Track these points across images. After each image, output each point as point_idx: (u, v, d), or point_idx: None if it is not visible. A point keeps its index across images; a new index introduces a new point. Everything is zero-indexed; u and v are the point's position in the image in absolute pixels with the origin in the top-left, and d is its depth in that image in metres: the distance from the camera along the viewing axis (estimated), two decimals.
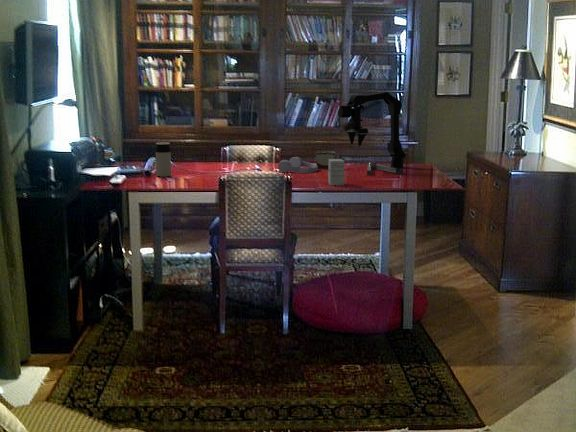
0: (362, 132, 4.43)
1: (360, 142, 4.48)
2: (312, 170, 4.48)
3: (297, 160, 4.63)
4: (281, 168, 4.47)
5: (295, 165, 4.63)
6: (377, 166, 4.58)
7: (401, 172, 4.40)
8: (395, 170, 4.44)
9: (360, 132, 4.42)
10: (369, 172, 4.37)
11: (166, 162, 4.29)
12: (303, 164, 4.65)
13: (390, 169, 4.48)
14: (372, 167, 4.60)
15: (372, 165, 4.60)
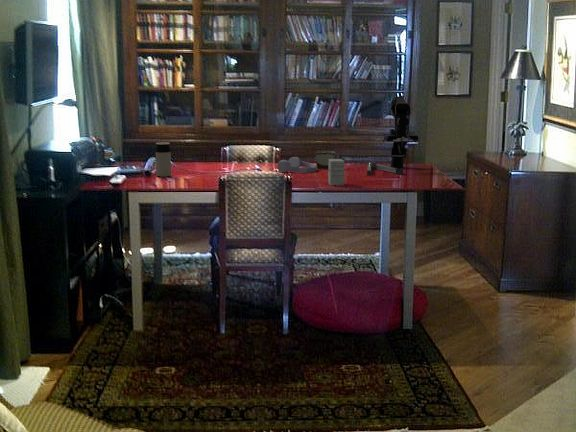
0: (384, 139, 4.47)
1: (399, 149, 4.49)
2: (311, 170, 4.48)
3: (296, 160, 4.63)
4: (280, 168, 4.48)
5: (294, 165, 4.64)
6: (377, 166, 4.58)
7: (401, 172, 4.40)
8: (395, 170, 4.44)
9: (384, 139, 4.48)
10: (369, 172, 4.37)
11: (166, 162, 4.29)
12: (302, 164, 4.65)
13: (390, 169, 4.48)
14: (372, 167, 4.60)
15: (372, 165, 4.60)
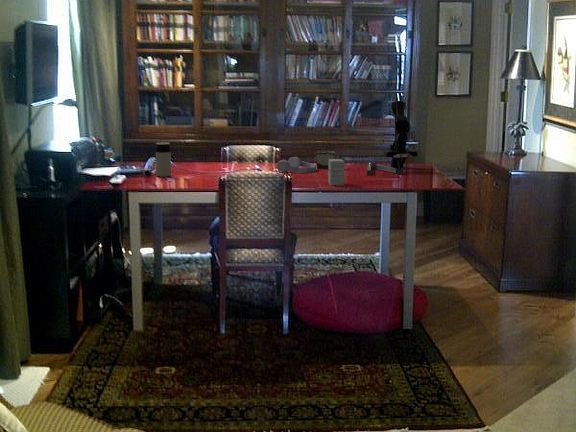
0: (384, 155, 4.49)
1: (398, 165, 4.51)
2: (311, 170, 4.48)
3: (296, 160, 4.63)
4: (280, 168, 4.48)
5: (294, 165, 4.64)
6: (377, 166, 4.58)
7: (401, 172, 4.40)
8: (395, 170, 4.44)
9: (383, 154, 4.50)
10: (369, 172, 4.37)
11: (166, 162, 4.29)
12: (302, 164, 4.65)
13: (390, 169, 4.48)
14: (372, 167, 4.60)
15: (372, 165, 4.60)
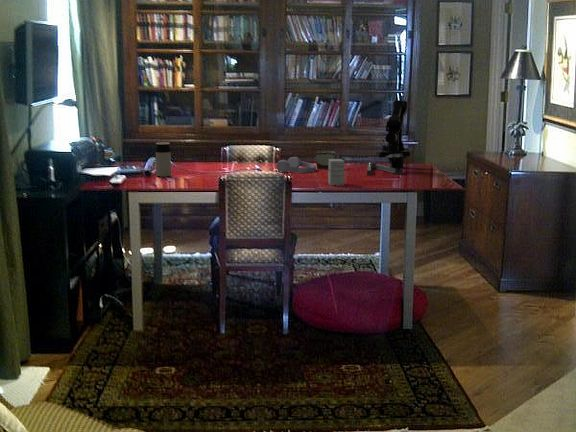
0: (376, 155, 4.47)
1: (391, 165, 4.49)
2: (310, 170, 4.48)
3: (295, 160, 4.63)
4: (279, 168, 4.48)
5: (293, 165, 4.64)
6: (377, 166, 4.58)
7: (400, 172, 4.40)
8: (394, 170, 4.44)
9: (376, 155, 4.48)
10: (369, 172, 4.37)
11: (166, 162, 4.29)
12: (301, 164, 4.65)
13: (390, 169, 4.47)
14: (372, 167, 4.60)
15: (372, 165, 4.60)
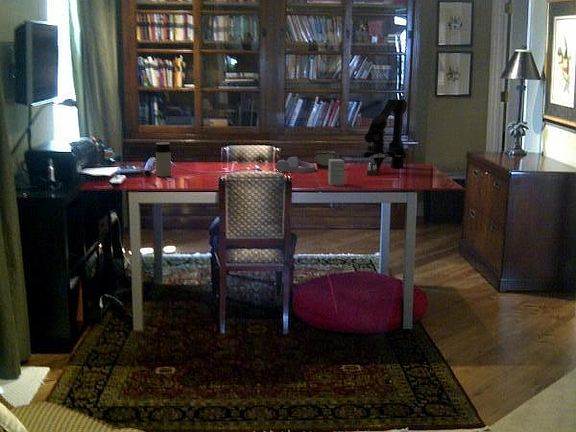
0: (361, 155, 4.45)
1: (376, 166, 4.47)
2: (309, 170, 4.49)
3: (295, 160, 4.63)
4: (278, 168, 4.48)
5: (293, 165, 4.64)
6: None
7: (374, 173, 4.36)
8: None
9: (361, 155, 4.46)
10: (369, 172, 4.37)
11: (166, 162, 4.29)
12: (301, 164, 4.66)
13: None
14: (372, 167, 4.60)
15: (372, 165, 4.60)
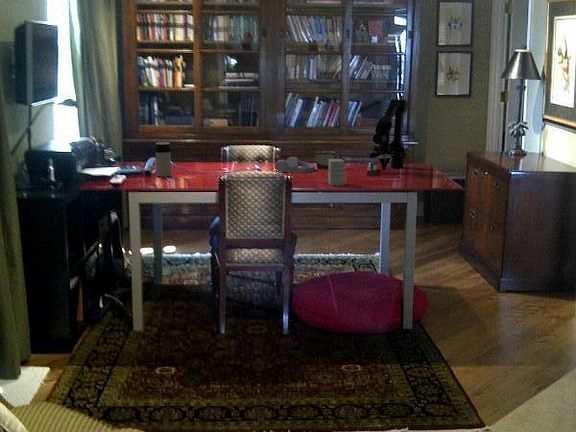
0: (367, 156, 4.46)
1: (382, 166, 4.47)
2: (309, 170, 4.49)
3: (294, 160, 4.63)
4: (278, 168, 4.48)
5: (292, 165, 4.64)
6: None
7: (374, 173, 4.36)
8: None
9: None
10: (369, 172, 4.37)
11: (166, 162, 4.29)
12: (300, 164, 4.66)
13: None
14: (372, 167, 4.60)
15: (372, 165, 4.60)
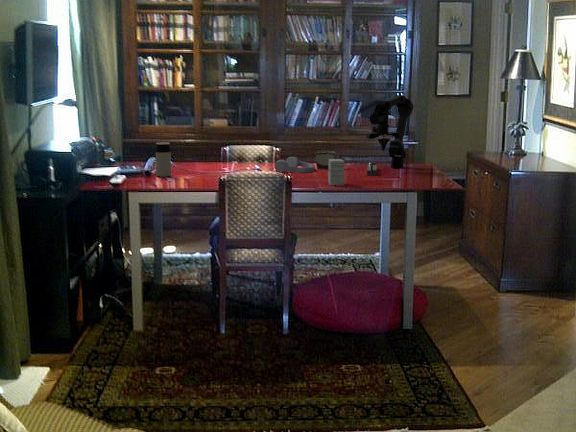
0: (366, 137, 4.48)
1: (381, 147, 4.51)
2: (308, 170, 4.49)
3: (294, 160, 4.63)
4: (278, 168, 4.48)
5: (292, 165, 4.64)
6: None
7: (374, 173, 4.36)
8: None
9: (366, 136, 4.50)
10: (369, 172, 4.37)
11: (166, 162, 4.29)
12: (300, 164, 4.66)
13: None
14: (372, 167, 4.60)
15: (372, 165, 4.60)
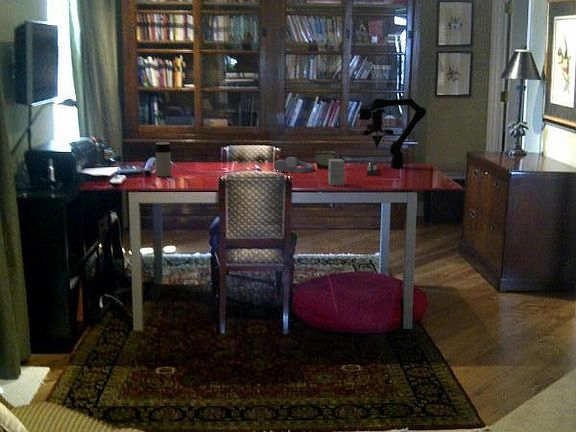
0: (361, 133, 4.63)
1: (375, 143, 4.65)
2: (308, 170, 4.49)
3: (293, 160, 4.64)
4: (277, 168, 4.48)
5: (291, 165, 4.64)
6: None
7: (374, 173, 4.36)
8: None
9: (360, 133, 4.64)
10: (369, 172, 4.37)
11: (166, 162, 4.29)
12: (299, 164, 4.66)
13: None
14: (372, 167, 4.60)
15: (372, 165, 4.60)
